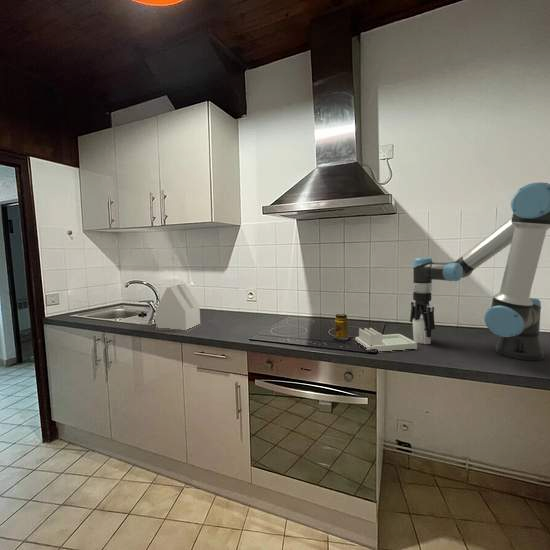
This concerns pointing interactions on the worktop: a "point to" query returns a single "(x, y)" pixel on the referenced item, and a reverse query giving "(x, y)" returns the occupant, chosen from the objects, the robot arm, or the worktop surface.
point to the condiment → (341, 326)
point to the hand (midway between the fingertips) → (421, 340)
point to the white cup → (418, 330)
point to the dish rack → (384, 341)
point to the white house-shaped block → (177, 309)
